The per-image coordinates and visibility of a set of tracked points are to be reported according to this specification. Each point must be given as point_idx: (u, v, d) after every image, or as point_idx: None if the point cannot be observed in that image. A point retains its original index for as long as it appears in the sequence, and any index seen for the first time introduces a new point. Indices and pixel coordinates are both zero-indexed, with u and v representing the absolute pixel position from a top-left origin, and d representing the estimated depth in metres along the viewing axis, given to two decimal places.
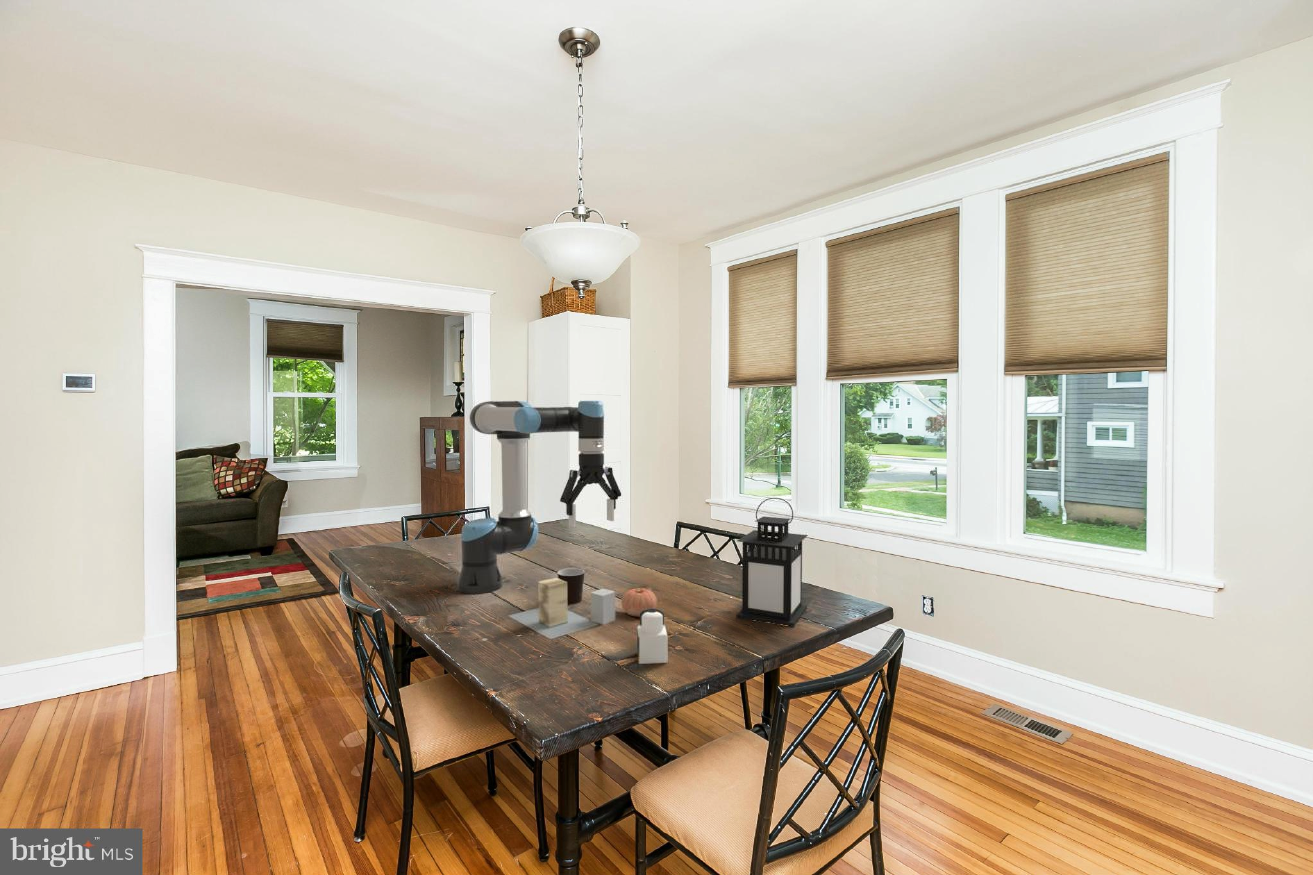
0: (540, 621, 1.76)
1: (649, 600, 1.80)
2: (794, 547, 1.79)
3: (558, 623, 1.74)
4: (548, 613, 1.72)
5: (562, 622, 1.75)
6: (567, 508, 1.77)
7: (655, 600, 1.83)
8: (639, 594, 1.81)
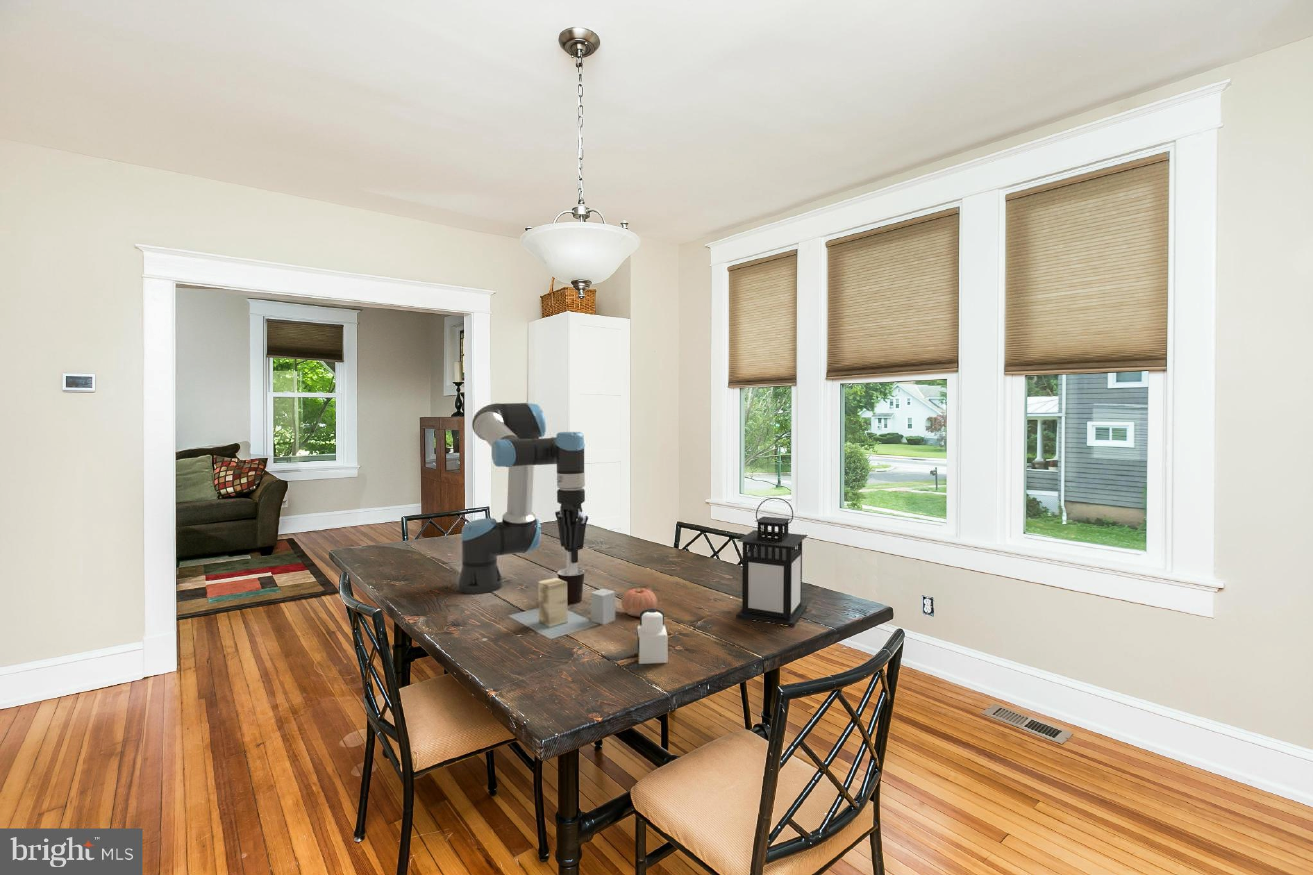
0: (540, 621, 1.76)
1: (649, 600, 1.80)
2: (794, 547, 1.79)
3: (558, 623, 1.74)
4: (548, 613, 1.72)
5: (562, 622, 1.75)
6: None
7: (655, 600, 1.83)
8: (639, 594, 1.81)
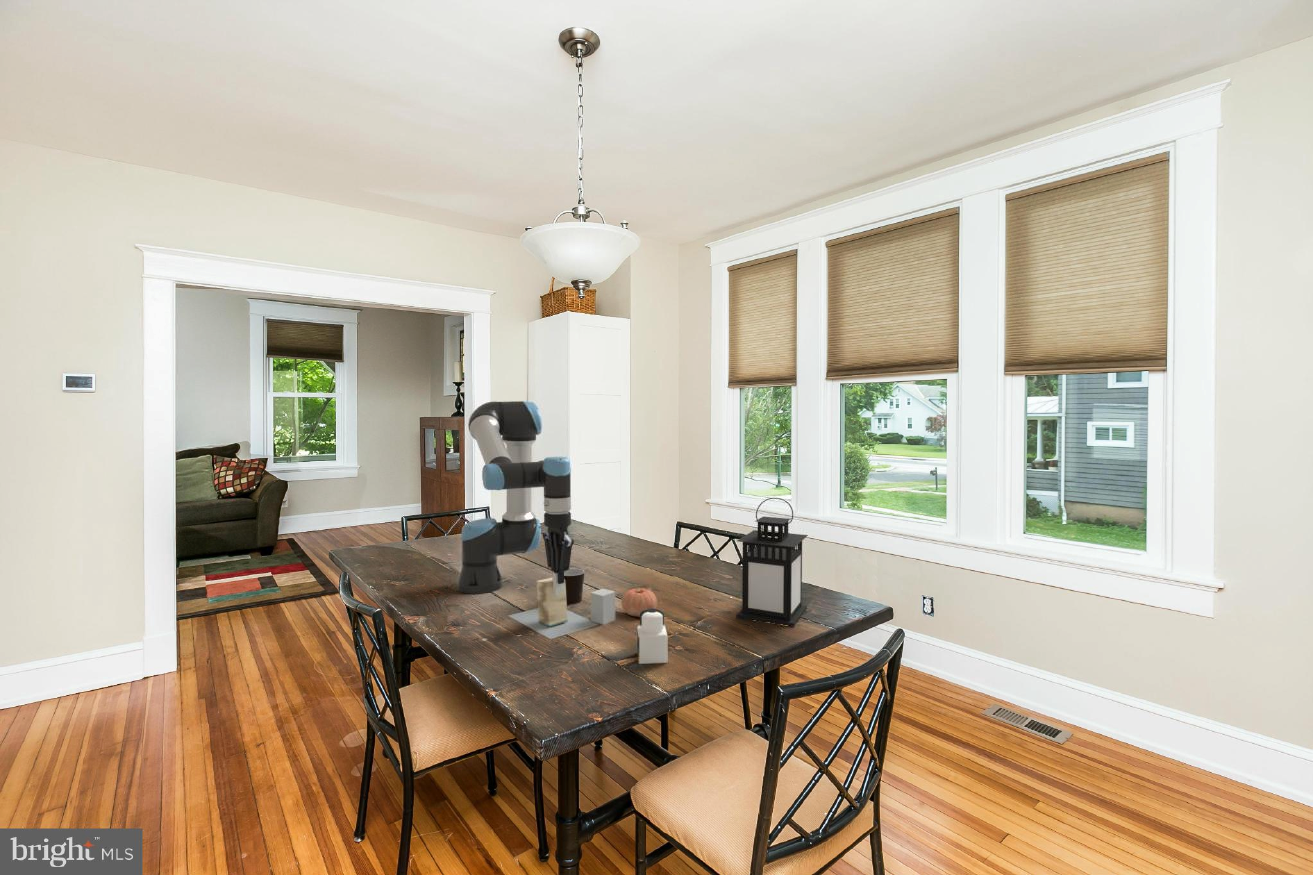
0: (540, 621, 1.76)
1: (649, 600, 1.80)
2: (794, 547, 1.79)
3: (558, 621, 1.74)
4: (547, 611, 1.72)
5: (562, 620, 1.75)
6: None
7: (655, 600, 1.83)
8: (639, 594, 1.81)
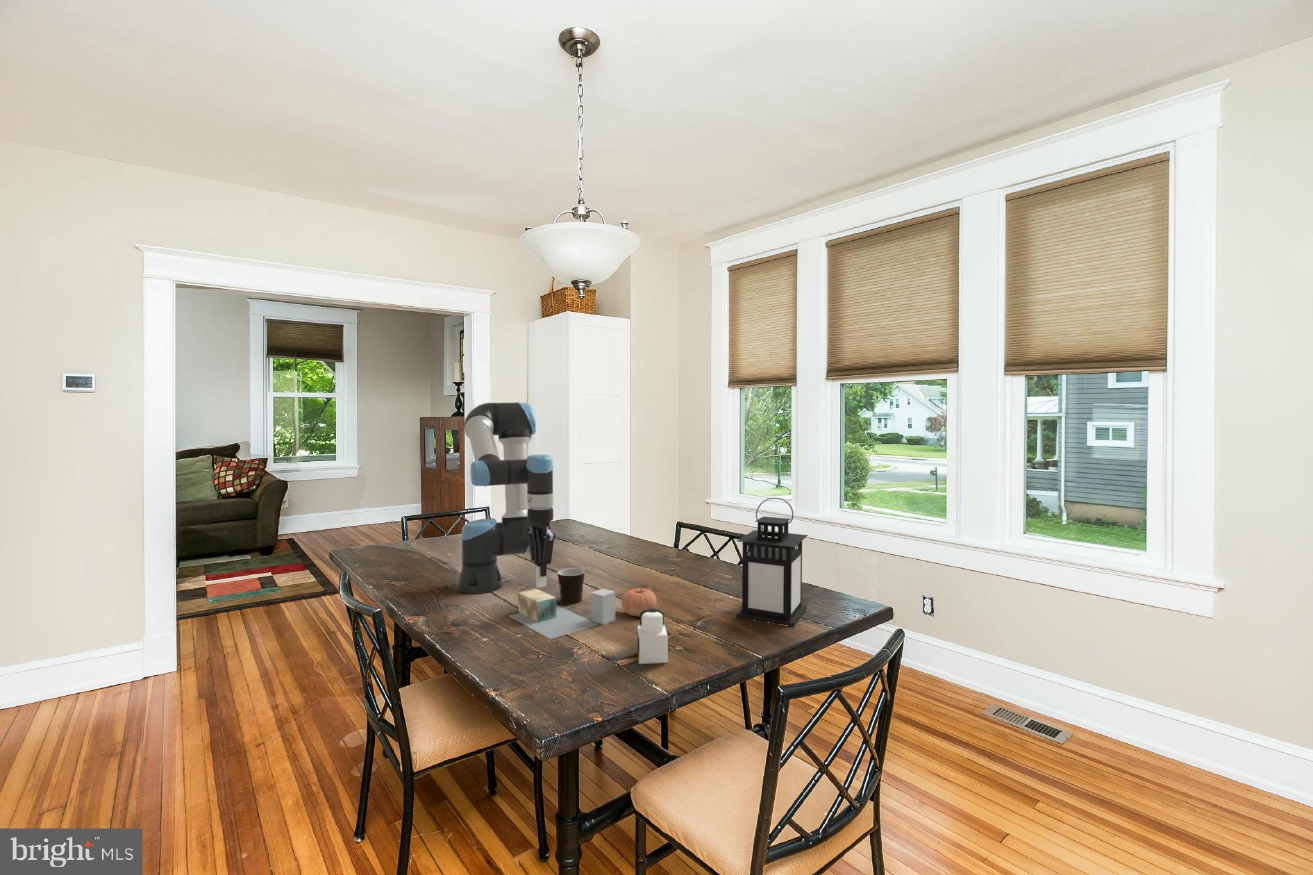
0: (537, 618, 1.77)
1: (649, 599, 1.80)
2: (794, 547, 1.79)
3: (546, 599, 1.78)
4: (531, 600, 1.79)
5: (550, 598, 1.79)
6: None
7: (655, 600, 1.83)
8: (639, 594, 1.81)
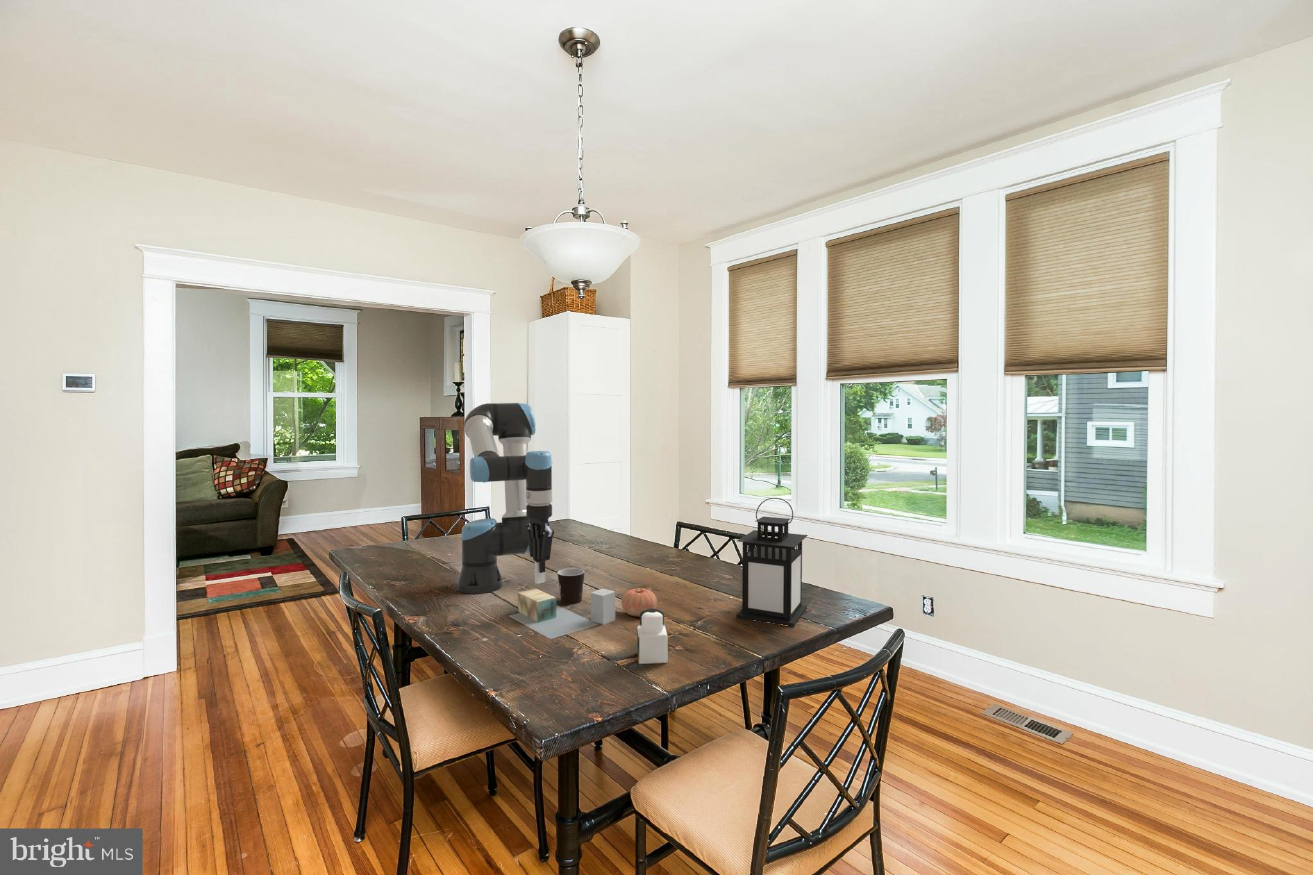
0: (537, 618, 1.77)
1: (649, 599, 1.80)
2: (794, 547, 1.79)
3: (546, 599, 1.78)
4: (531, 600, 1.79)
5: (550, 598, 1.79)
6: None
7: (655, 600, 1.83)
8: (639, 594, 1.81)
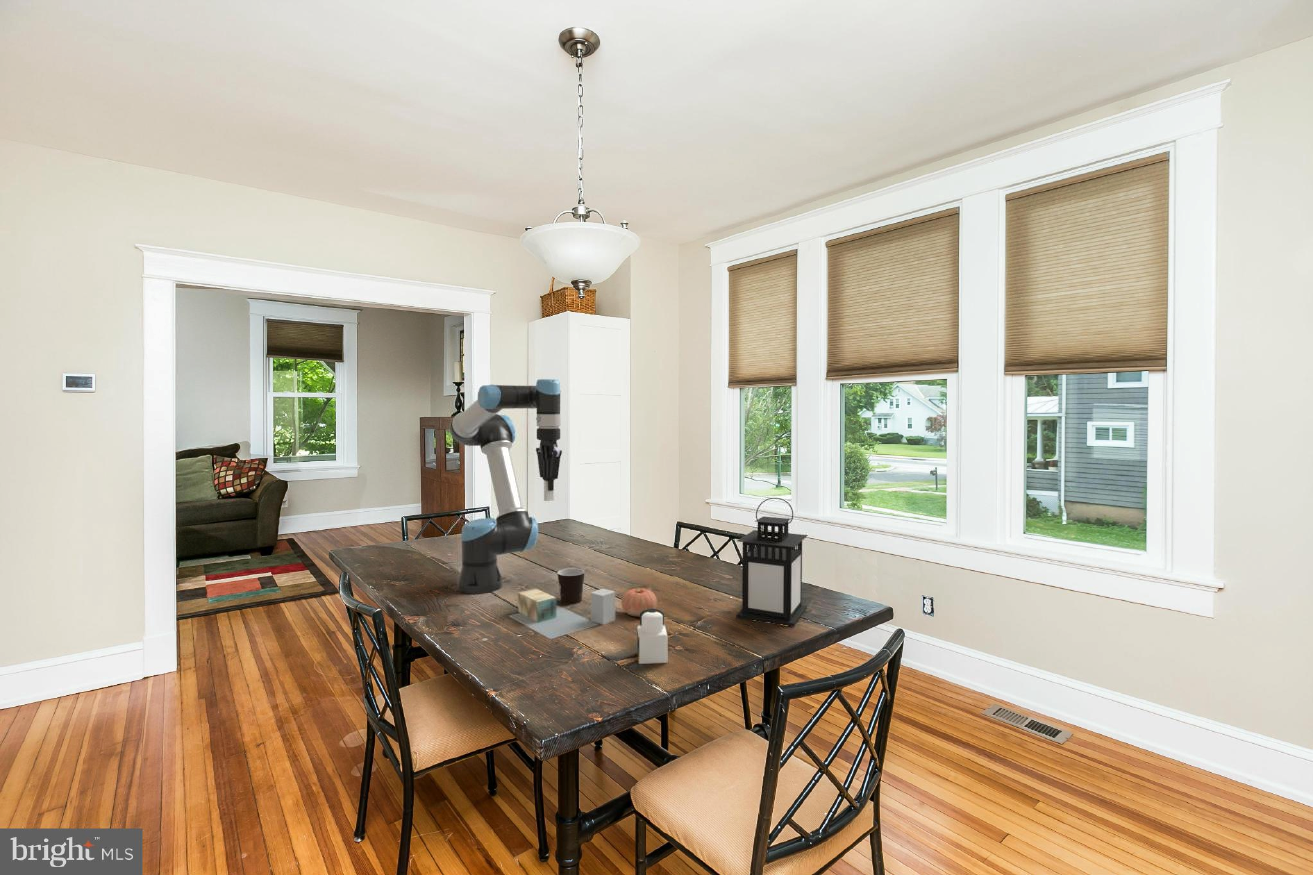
0: (537, 618, 1.77)
1: (649, 600, 1.80)
2: (794, 547, 1.79)
3: (546, 599, 1.78)
4: (531, 600, 1.79)
5: (550, 598, 1.79)
6: None
7: (655, 600, 1.83)
8: (639, 594, 1.81)
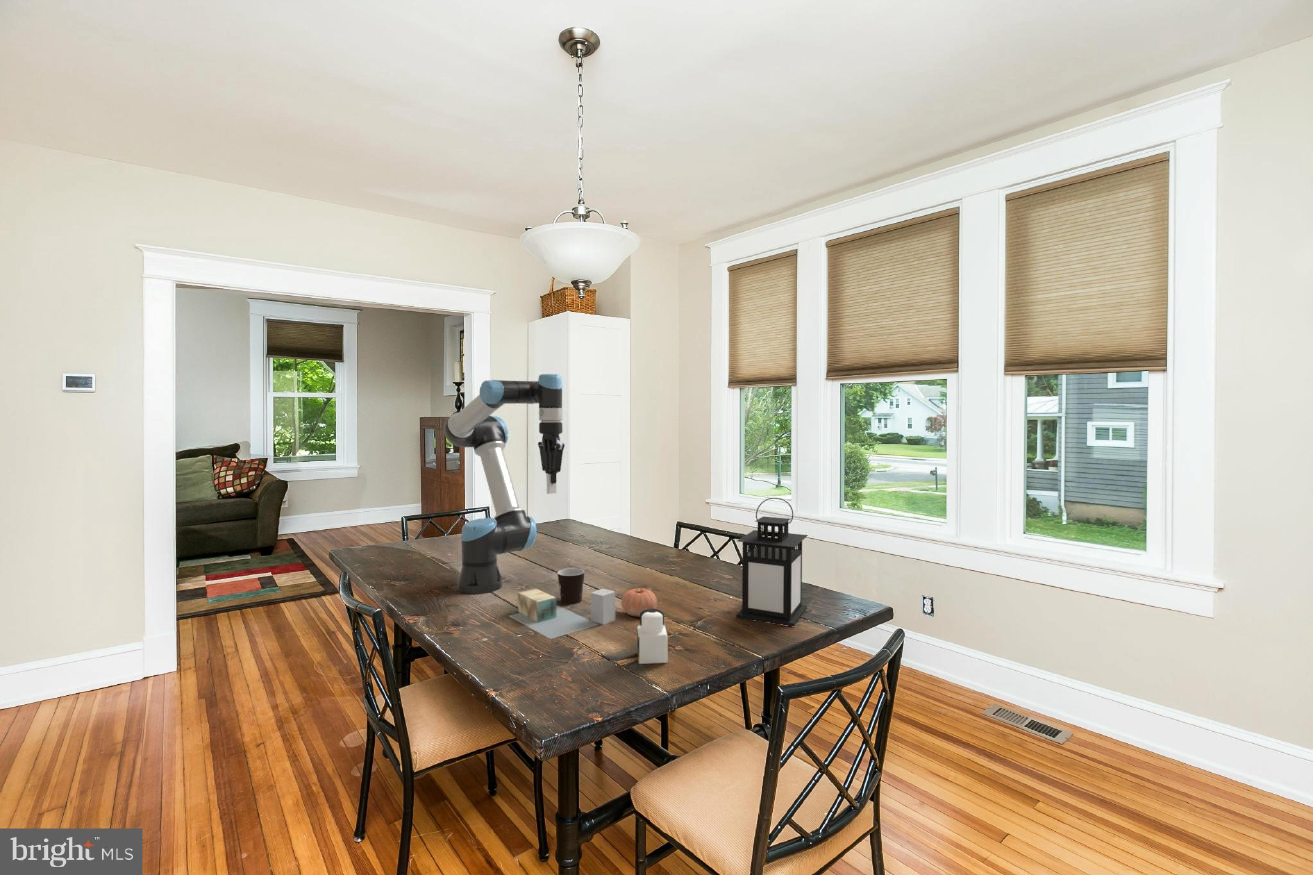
0: (537, 618, 1.77)
1: (649, 600, 1.80)
2: (794, 547, 1.79)
3: (546, 599, 1.78)
4: (531, 600, 1.79)
5: (550, 598, 1.79)
6: None
7: (655, 600, 1.83)
8: (639, 594, 1.81)
